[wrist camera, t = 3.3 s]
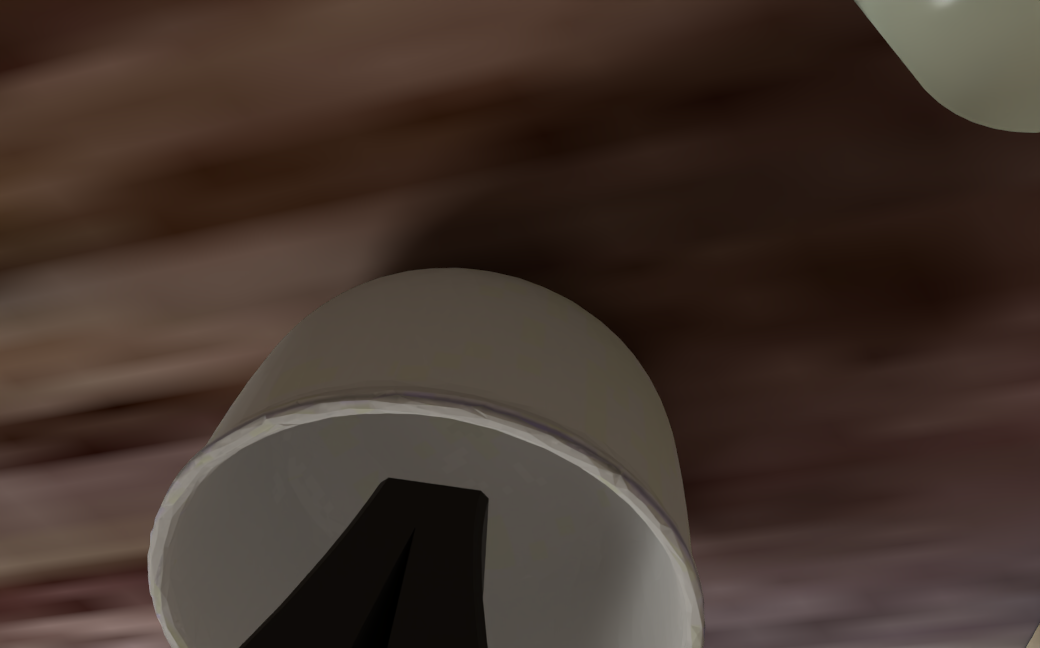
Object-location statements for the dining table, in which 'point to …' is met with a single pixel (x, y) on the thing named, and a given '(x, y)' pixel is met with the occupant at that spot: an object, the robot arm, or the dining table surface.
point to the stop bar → (1035, 639)
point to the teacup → (443, 466)
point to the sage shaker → (969, 55)
